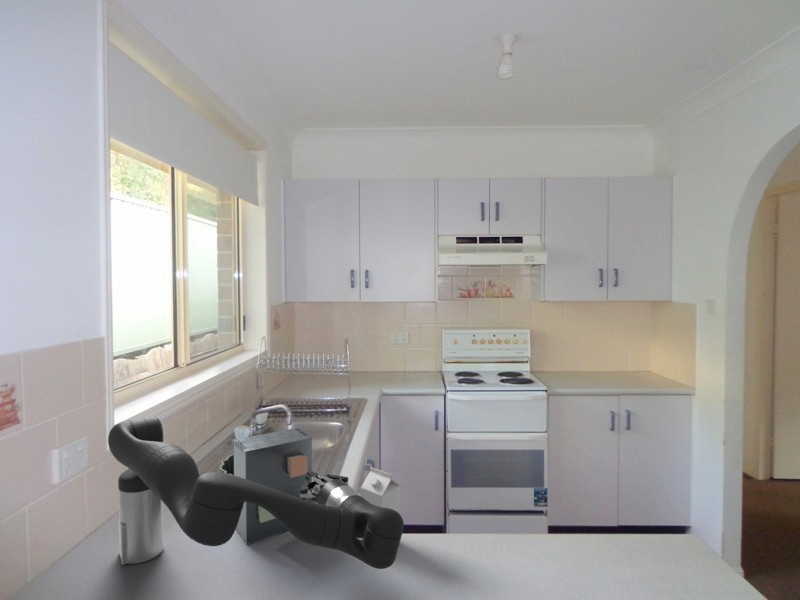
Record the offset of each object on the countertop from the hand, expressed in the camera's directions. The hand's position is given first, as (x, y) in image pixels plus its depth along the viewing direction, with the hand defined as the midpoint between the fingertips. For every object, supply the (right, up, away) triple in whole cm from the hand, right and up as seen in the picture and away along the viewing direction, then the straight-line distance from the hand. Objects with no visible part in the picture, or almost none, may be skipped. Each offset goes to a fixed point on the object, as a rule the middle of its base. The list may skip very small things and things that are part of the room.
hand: (309, 475), depth 118 cm
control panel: (-12, -17, +10) cm, 23 cm away
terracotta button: (-6, -2, +9) cm, 11 cm away
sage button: (-13, -11, +5) cm, 18 cm away
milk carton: (+18, -18, +2) cm, 26 cm away
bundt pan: (-20, -17, +30) cm, 40 cm away
